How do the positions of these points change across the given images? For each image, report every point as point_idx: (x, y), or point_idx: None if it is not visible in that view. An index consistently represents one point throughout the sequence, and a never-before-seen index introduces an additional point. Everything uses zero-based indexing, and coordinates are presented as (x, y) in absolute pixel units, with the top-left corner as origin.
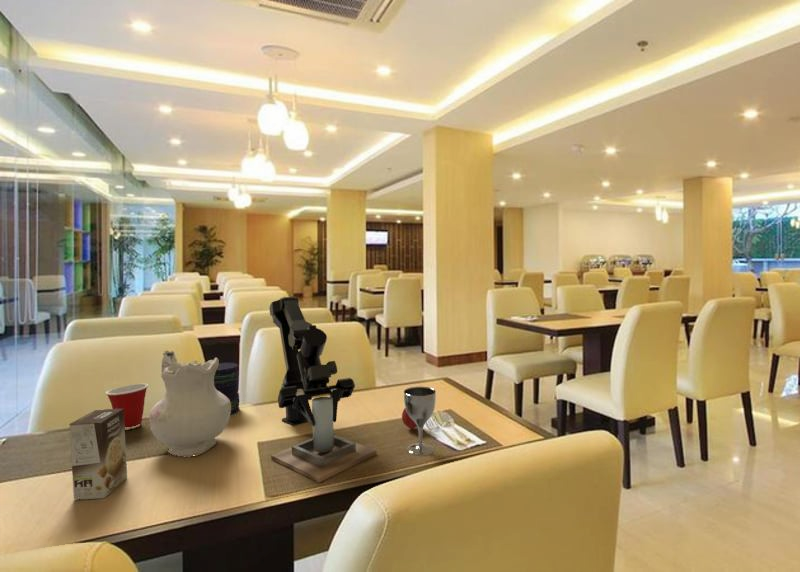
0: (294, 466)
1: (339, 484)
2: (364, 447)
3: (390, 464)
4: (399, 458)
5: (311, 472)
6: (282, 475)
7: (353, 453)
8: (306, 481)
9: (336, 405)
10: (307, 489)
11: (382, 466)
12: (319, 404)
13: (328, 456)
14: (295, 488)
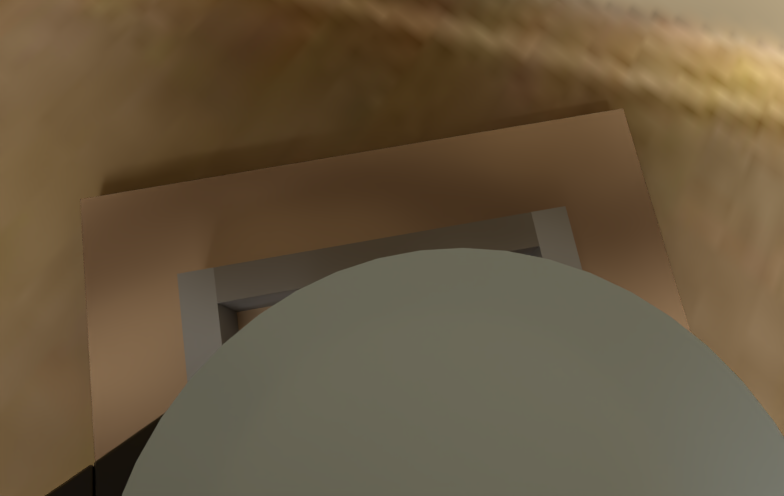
0: None
1: (519, 32)
2: (107, 298)
3: (137, 33)
4: (35, 59)
5: (632, 203)
6: (779, 365)
7: (240, 262)
8: (668, 185)
9: (91, 482)
10: (698, 99)
11: (191, 44)
12: (690, 344)
13: (485, 221)
14: (756, 153)
